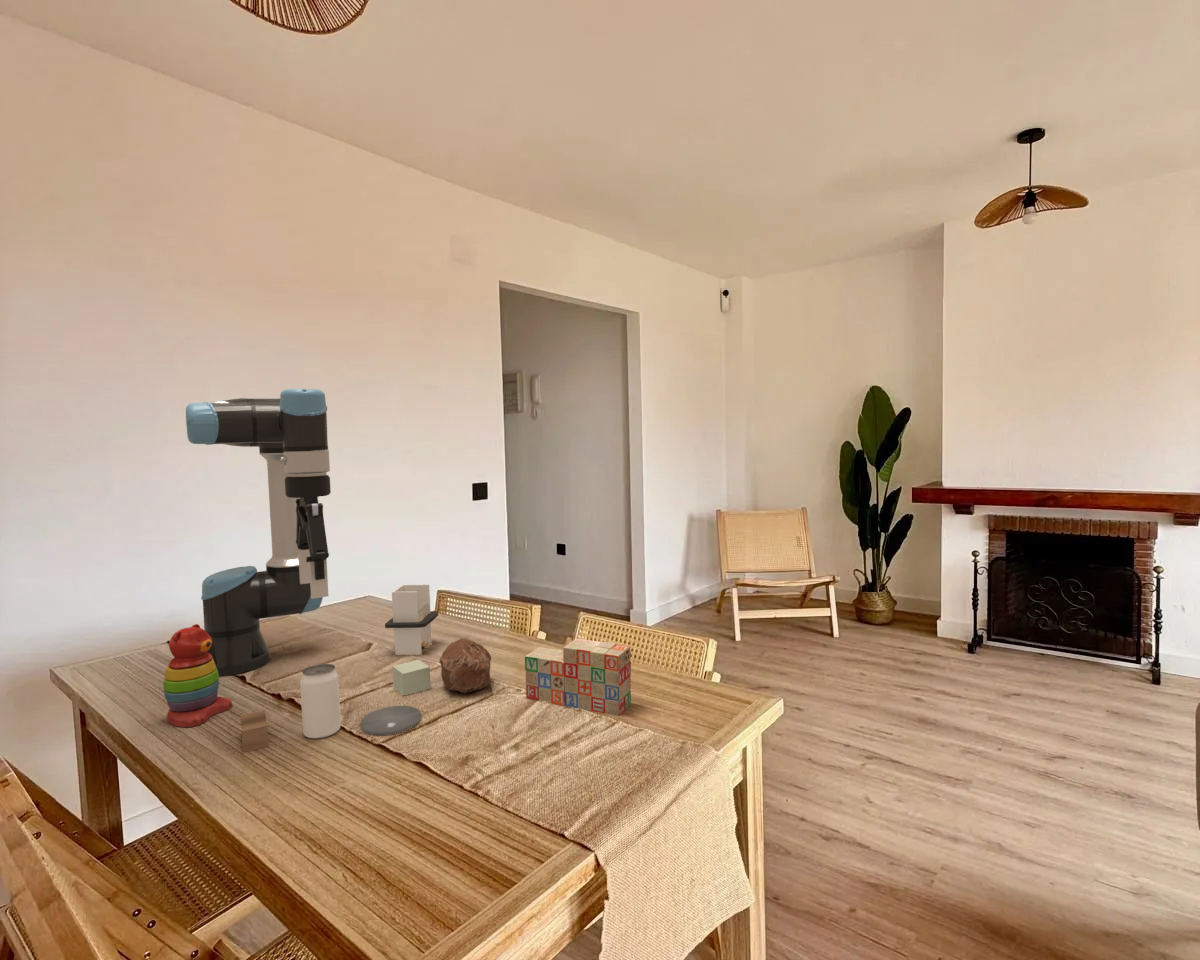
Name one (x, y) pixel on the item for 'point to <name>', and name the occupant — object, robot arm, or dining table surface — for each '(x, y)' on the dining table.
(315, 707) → the can
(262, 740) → the walnut block
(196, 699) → the stacking bear
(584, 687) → the stack of blocks
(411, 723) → the slate coaster
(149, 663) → the dining table surface
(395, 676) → the sage block
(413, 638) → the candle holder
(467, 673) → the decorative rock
